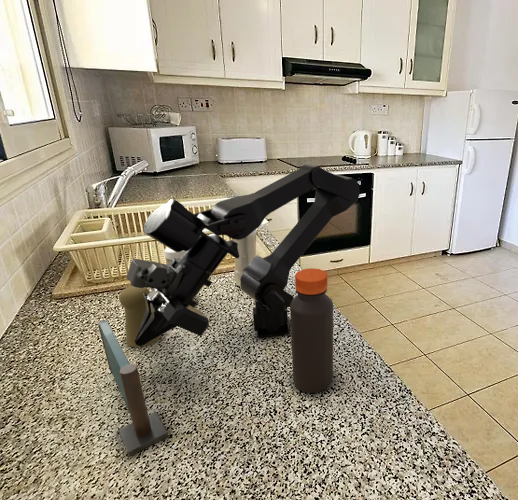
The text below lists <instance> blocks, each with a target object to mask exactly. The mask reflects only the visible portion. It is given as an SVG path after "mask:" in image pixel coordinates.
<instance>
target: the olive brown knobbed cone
mask: <svg viewBox="0 0 518 500" xmlns="http://www.w3.org/2000/svg"><path fill="white" fill-rule="evenodd" d="M149 289H150V288H148V287H144V288H138V287H134V286H132V285H131V286H128V287H126V288H124V289H122V290H121V291H120V293H119V295H118V299H119V304H120V306H122V307H123V308H124V323H125V339H126V340H125V342H126V345H127V346H128V347H132V348H141V347H146V346H149V345H151V344H154V343H155V342H157V341H158V340H159V339H160V337H161V335H160V336H158V337H156V338H155V339H153V340H151V341H150V342H148V343H146V344H144V345H143V346H138V345H136V344H135V342H134V341H135V339H136V336H137V333H138V331H139V328H140V326H141V323H142V320H143V318H144V315H145V312H146V304H145V300H144V297H143V294H146V295H149V293H150V292H151V291H150V290H149Z"/></svg>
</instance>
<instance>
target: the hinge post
mask: <svg viewBox="0 0 518 500" xmlns="http://www.w3.org/2000/svg"><path fill="white" fill-rule="evenodd" d="M120 375H121V379H122V383H123V387H124V391H125V395H126V400H127V404H128V408H129V410H128V413H129V416H130V419H131V423H130V424H128V425H125V426H123V427H121V428H120V429H118V432H119V435H120V437H121V440H122V442H123V445H124V447H125V450H126V453H127V456H128V457H132V456H133V455H136V454H138V453H139V452H141V451H143V450H145V449H147V448H149V447H150V446H153V445H155V444H156V443H159V442H160V441H162V440H164V439H166V438H168V437H169V433H168V431H167V428H166V427H165V425H164V423H163V421H162V420H161V417H160V416H159V414H158V412H153V413H151V414H149V413H148V409H147V404H146V399H145V394H144V391H143V386H142V382H141V377H140V373H139V368H138V365H137V364H134V363H130V364H129V365H126V366H124V367H122V368H121V369H120ZM128 408H127V409H128Z"/></svg>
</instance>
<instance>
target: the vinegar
mask: <svg viewBox="0 0 518 500" xmlns="http://www.w3.org/2000/svg"><path fill="white" fill-rule="evenodd" d="M294 283H295V293H296V294H297V295H296V296H294V299H293V300H292V302H291V304H290V307H289V314H290V315H289V316H290V337H291V338H290V340H291V363H292V382H293V385H294V386H295V387H296V389H298V390H299V391H301V392H303V393H306V394H317V393H320V392H323V391H326V390H327V389H328V388H329V387H331V385H332V383H333V380H334V379H333V378H334V301H333V299H332V298H331V297H330V296H329V295H328V294H327V291H328V273H327V272H326V271H324V270H323V269H321V268H313V267H312V268H304V269H300V270H298V271H296V272H295V274H294Z"/></svg>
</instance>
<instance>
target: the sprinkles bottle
mask: <svg viewBox="0 0 518 500" xmlns="http://www.w3.org/2000/svg"><path fill="white" fill-rule="evenodd" d="M163 252H164V257H165V260H166V265H167V264H168V263H169V262H170V261H171V260H172V259H174V258H176V259H178V260H180V258H181V257H182V256H183V254H184V253H185V252H186V251H184V250H183V251H181V252H175V251H173V250H171V249H170V248H168V247H166V248H164V251H163Z"/></svg>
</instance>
